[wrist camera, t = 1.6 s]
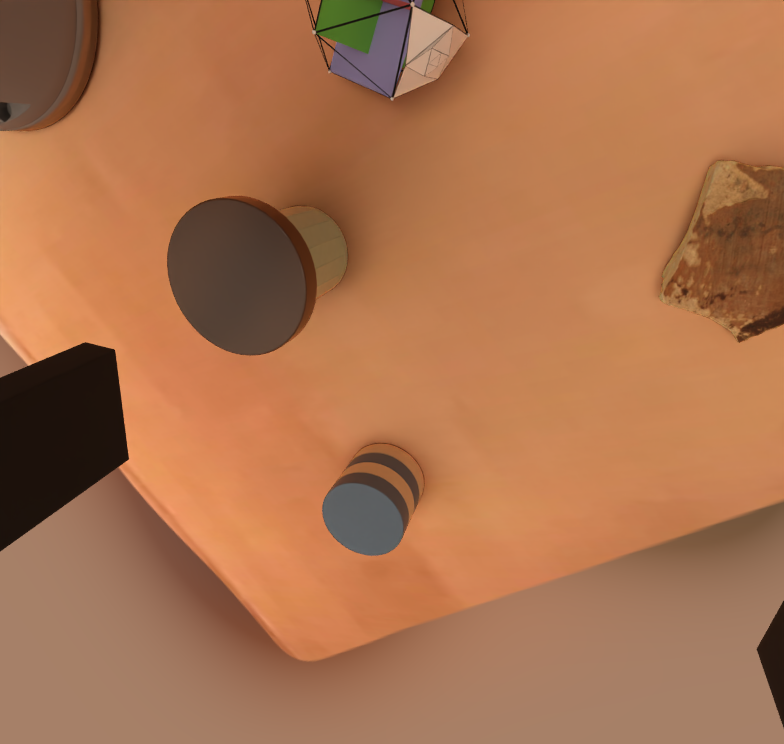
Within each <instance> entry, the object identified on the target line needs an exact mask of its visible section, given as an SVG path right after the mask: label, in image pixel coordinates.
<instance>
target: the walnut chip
mask: <svg viewBox="0 0 784 744" xmlns="http://www.w3.org/2000/svg"><path fill="white" fill-rule="evenodd" d="M167 267H168V276H169V281H170V285H171V288H172V292H173V294H174V297H175V299H176V302H177V304H178V306H179V307H180V309H181V311H182V313H183V314H184V316H185V317H186V319H187V320H188V321H189V323H190V324H191V325H192V326H193V327H194V328H195V329H196V330H197V331H198V332H199V333H200V334H201V335H202V336H203V337H204V338H206V339H207V340H208V341H210V342H211V343H213V344H214V345H216V346H218V347H220V348H222V349H224V350H226V351H229V352H232V353H236V354H241V355H261V354H266V353H269V352H272V351H274V350H276V349H278V348H280V347H281V346H283V345H284V344H286V343H287V342H289V341H290V340H292V339H293V338H294V337H295V336H297V335H298V334H299V333H300V332H301V331H302V329H303V328H304V327H305V325H306V324H307V322H308V321H309V319H310V317H311V314H312V312H313V309H314V305H315V301H316V295H317V278H316V271H315V266H314V262H313V259H312V256H311V253H310V251H309V248H308V246H307V244H306V242H305V240H304V239H303V237H302V235H301V234H300V232H299V231H298V230H297V229H296V227H295V226H294V225H293V224H292V223H291V222H290V221H289V220H288V218H287V217H285V216H284V215H283V214H282V213H281V212H279V211H278V210H277V209H275V208H273V207H272V206H270V205H269V204H267V203H264V202H262V201H260V200H257V199H254V198H250V197H244V196H228V197H222V198H216V199H210V200H207V201H204V202H201V203H199V204H198V205H196V206H194V207H193V208H191V209H190V210H189V211H188V212H186V214H185V215H184V216H183V217H182V218H181V219H180V221H179V222H178V224H177V225H176V227H175V229H174V231H173V233H172V236H171V239H170V243H169V248H168V255H167Z"/></svg>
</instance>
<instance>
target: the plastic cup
mask: <svg viewBox="0 0 784 744" xmlns="http://www.w3.org/2000/svg"><path fill="white" fill-rule="evenodd" d="M278 211H279V212H281V213H282V214H283V215H284V216H285V217H287V218H288V220H289V221H290V222H291V223H292V224H293V225H294V226H295V227H296V229H297V230H298V231H299V232H300V234H301V235H302V237H303V239H304V240H305V242H306V244H307V246H308V248H309V251H310V253H311V256H312V259H313V262H314V266H315V271H316V278H317V295H316V299H318V298H320V297H321V296H323V295H324V294H326V293H327V292H329V291H330V290H332V289H333V288H334V287H336V286H337V284H338V283H339V282H340V281H341V279H342V278H343V275H344V273H345V270H346V267H347V261H348V252H347V245H346V242H345V238H344V236H343V234H342V232H341V230H340V228H339V227H338V225H337V224H336V223H335V222H334V220H333V219H332V218H331V217H329V216H328V215H327V214H326V213H324V212H322V211H321V210H319V209H316V208H313V207H310V206H294V207H290V208H285V209H281V210H278Z"/></svg>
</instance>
